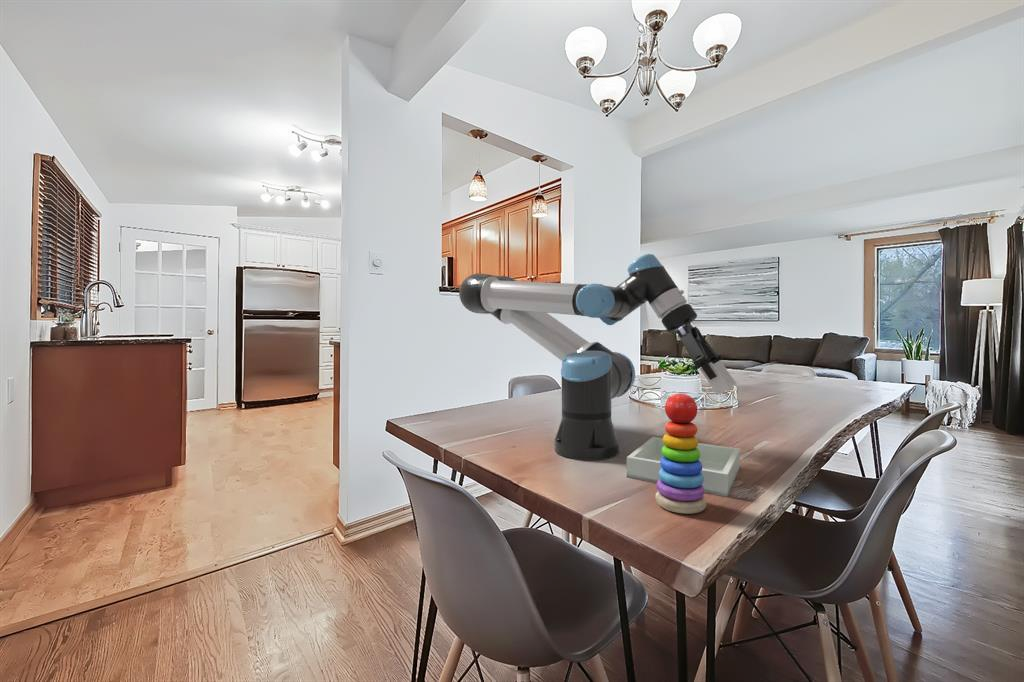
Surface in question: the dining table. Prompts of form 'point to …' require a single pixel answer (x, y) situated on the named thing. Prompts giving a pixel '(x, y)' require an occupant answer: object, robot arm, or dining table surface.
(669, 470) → the stacking toy
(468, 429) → the dining table surface
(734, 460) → the tray
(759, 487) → the dining table surface
